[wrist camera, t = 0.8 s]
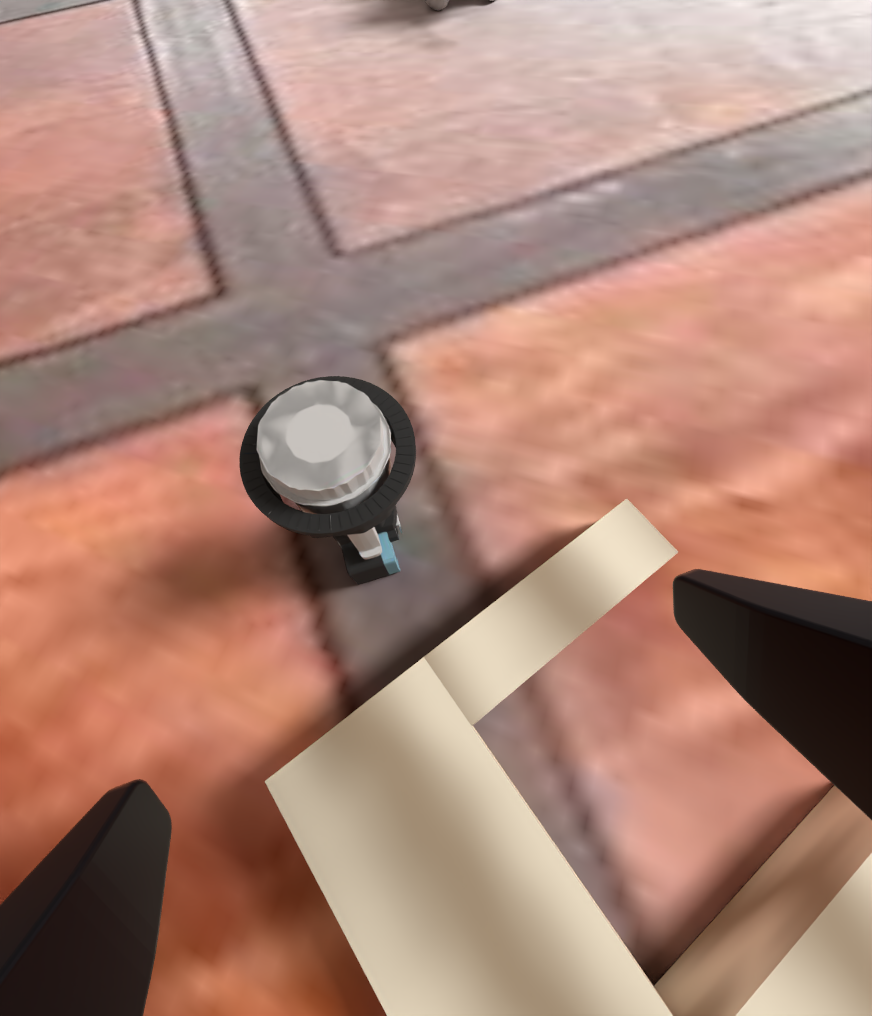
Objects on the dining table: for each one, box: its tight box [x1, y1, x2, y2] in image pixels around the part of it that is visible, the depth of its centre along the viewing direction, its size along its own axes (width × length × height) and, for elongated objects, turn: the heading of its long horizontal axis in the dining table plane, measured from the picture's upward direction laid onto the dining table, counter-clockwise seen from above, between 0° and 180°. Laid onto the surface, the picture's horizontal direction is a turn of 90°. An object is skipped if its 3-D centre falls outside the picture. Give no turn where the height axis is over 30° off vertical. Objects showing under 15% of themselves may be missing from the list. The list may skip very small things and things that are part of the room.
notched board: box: [265, 499, 872, 1016], centre depth 16 cm, size 18×18×3 cm
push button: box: [240, 376, 416, 584], centre depth 17 cm, size 7×5×10 cm
